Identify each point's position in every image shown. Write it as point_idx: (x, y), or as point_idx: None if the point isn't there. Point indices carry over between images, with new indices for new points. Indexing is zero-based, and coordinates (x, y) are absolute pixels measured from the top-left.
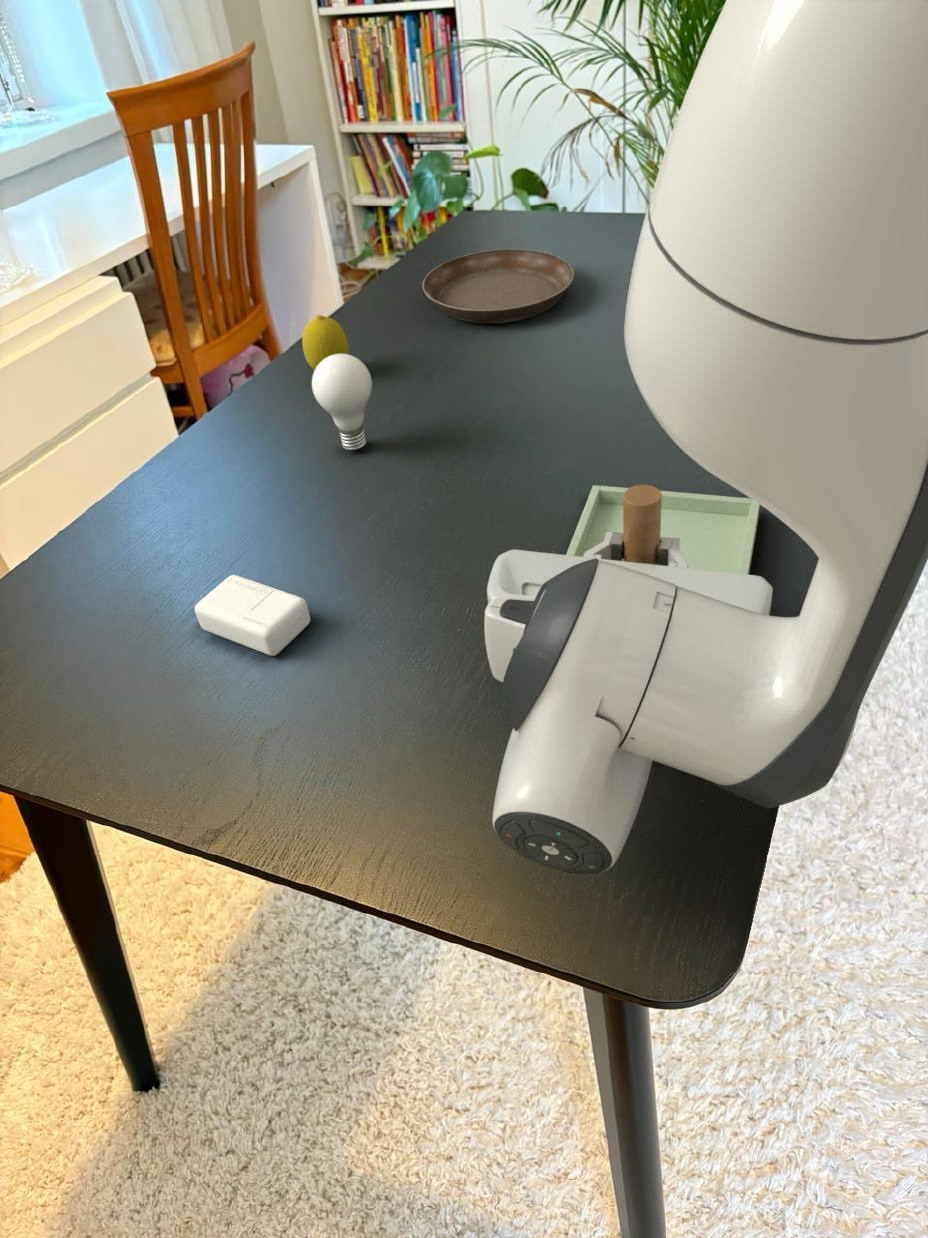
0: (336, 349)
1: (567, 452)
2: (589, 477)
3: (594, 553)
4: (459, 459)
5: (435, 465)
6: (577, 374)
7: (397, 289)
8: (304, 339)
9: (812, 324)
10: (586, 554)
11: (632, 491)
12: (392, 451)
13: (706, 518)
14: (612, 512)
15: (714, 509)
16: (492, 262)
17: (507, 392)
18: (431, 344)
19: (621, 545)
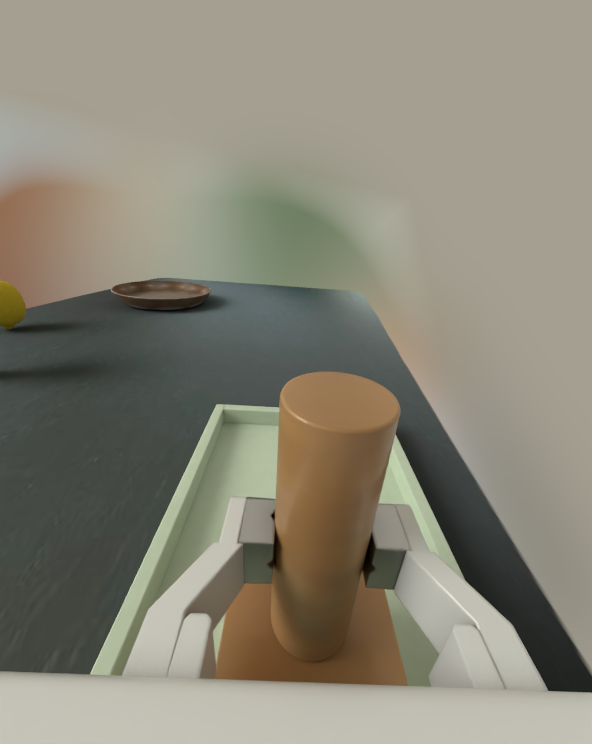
0: (5, 304)
1: (196, 379)
2: (214, 399)
3: (185, 609)
4: (87, 385)
5: (56, 391)
6: (209, 333)
7: (100, 296)
8: None
9: None
10: (153, 620)
11: (305, 387)
12: (18, 379)
13: None
14: (237, 433)
15: None
16: (164, 287)
17: (154, 341)
18: (108, 317)
19: (272, 546)
